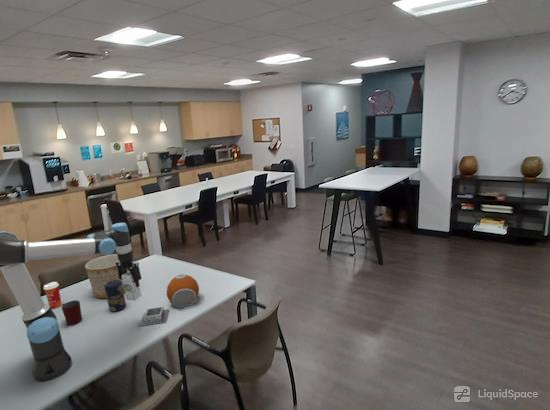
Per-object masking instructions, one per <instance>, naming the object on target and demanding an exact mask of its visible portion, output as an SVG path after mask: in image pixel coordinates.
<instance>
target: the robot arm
mask: <svg viewBox="0 0 550 410" xmlns="http://www.w3.org/2000/svg"><path fill="white" fill-rule="evenodd" d="M132 249H133V247H132V243H131V239H130V233H129V228H128V224H127V223H126V222H117V223H114V224H112V225H111V228H110V229H108V230H102V231H100V232H94V233H91V234H88V235H87V236H86V238H74V239H61V240H60V239H59V240H43V241H42V240H41V241H27V240H23V239H21V240H19V238H18V237H17V236H16V235H15V234H14V233H11V232H9V231H0V271H1V274H2V276H3V277H4V279H5V281H6V282H7V284H8V286H9V288H10V290H11V292H12V294H13V296H14V298H15V300H16V301H17V303H18V305H19V307H20V309H21V311H22V313H23V315H22V316H21V320H22V322H23V324H24V326H25V327H26V336H27V339H28V342H29V346H30V349H31V353H32V356H33V367H32V368H33V369H32V376H33V379H34V380H35V381H38V382H46V381H50V380H54V379H55V378H58V377H60V376H62V375H64V374H65V373H66V372H67V371H68V370H69V369H70V368H71V366H72V365H73V360H72V357H71V356H70V354H69V353H68V352H67V351H66V349H65V346H64V342H63V338H62V334H61V331H60V330H61V329H60V324H59V322H58V318H57V315H56V313H54V311H53V310H52V309H51V307H50V305H49V303H48V304H47V303H45V302H44V300H43V299H42V297H41V294H40V293H39V291H38V288H37V286H36V284H35V282H34V280H33V278H32V276H31V274H30V272H29V270H28V268H27V266H26V265H25V264H26V263H28V262H29V261H33V260H35V261H36V260H43V259H44V260H45V259H56V258H66V257H67V258H68V257H77V256H87V255H98V254H99V255H100V254H101V255H103V256H106V255H112V254H114V253H115V252H116V254H117V256H118V260H119V261H118V262H116V266H117V270H118V276H119V279H121V280H122V275H123V274H125V273H127V269H128V270H129V271H130V273H131V275H132V277H133V280H134V282H133V284H134V289H135V293H138V292H139V291H141V288H140V289H139V286H140V281H141V280H142V276H141V275H142V274H141V271H140V266H139V265H140V264H139V262H138V261H137V262H135V261H134V259H133V258H134V252H133V250H132Z"/></svg>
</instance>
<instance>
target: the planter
mask: <svg viewBox="0 0 550 410" xmlns="http://www.w3.org/2000/svg"><path fill="white" fill-rule="evenodd" d="M117 254H118V253H112V254H110V255H103V256H99V257H96V258H94V259H92V260H89V261H88V262H87V263H86V264H85V266H84V268H85V271H86V274H87V277H88V280H89V283H90V287H91V289H92V292H93V295H94V296H95V297H96V298H99V299H107V296H106V291H105V287H104V286H105V284H106V283H108V282H110V281H113V280H120V281H121V282H122V287H123V291H124V294H125V290H124V285H123V281H122V280H121V279H119V276H118V270H117V266H116V262H118V261H119V260H118V256H117ZM127 272H130V271H129V270H128V269H127Z"/></svg>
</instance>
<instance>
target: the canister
mask: <svg viewBox="0 0 550 410" xmlns="http://www.w3.org/2000/svg"><path fill="white" fill-rule="evenodd" d="M104 287H105V291H106V296H107V298H106V300H107V306H108V309H109V310H110V312H119V311H122V310H123V309H124V308H126V306H127V303H126V302H127V301H126V296H125V293H124V291H123V287H122V282H121V281H120V280H113V281H110V282H108V283H106V284H105V286H104Z"/></svg>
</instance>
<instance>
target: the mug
mask: <svg viewBox="0 0 550 410" xmlns="http://www.w3.org/2000/svg"><path fill="white" fill-rule="evenodd" d="M61 310H62V313H63V316H64V318H65V321H66V325H67V326H74V325H77V324H79V323H81V322H82V321H83V320H82V319H83V318H82V309H81V303H80V301H79V300H70V301H68V302H64V303H61Z"/></svg>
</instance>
